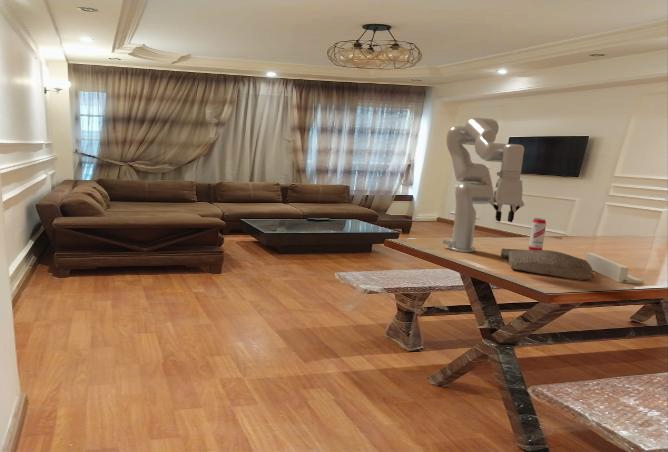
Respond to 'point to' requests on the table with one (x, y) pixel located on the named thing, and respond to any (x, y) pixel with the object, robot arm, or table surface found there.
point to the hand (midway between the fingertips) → (504, 220)
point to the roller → (507, 252)
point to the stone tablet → (550, 264)
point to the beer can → (537, 234)
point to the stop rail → (610, 269)
